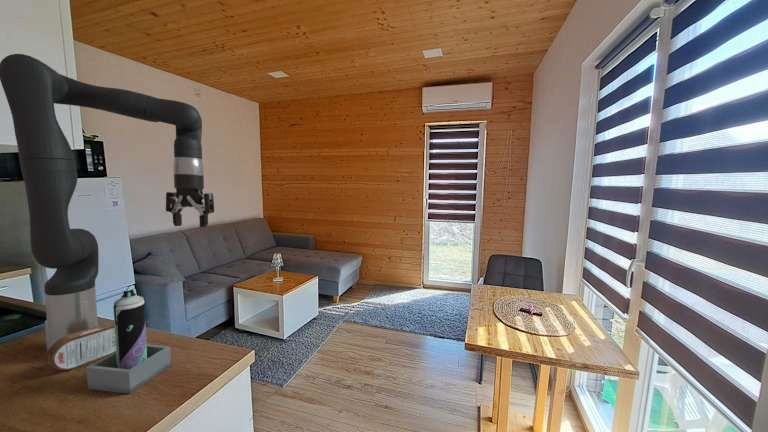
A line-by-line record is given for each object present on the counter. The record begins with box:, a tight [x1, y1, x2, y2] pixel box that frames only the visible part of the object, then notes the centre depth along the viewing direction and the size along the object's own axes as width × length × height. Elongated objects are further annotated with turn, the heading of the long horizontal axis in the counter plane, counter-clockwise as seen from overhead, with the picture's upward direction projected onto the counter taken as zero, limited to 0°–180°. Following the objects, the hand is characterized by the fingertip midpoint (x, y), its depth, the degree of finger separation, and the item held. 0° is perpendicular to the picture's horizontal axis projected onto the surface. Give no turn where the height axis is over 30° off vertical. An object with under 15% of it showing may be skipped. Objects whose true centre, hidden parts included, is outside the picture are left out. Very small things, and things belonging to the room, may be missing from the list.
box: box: [86, 343, 172, 395], centre depth 70 cm, size 11×11×5 cm
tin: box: [45, 322, 116, 371], centre depth 75 cm, size 15×3×8 cm, turn 152°
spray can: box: [113, 289, 147, 370], centre depth 69 cm, size 6×6×20 cm
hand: (190, 226), depth 90 cm, fingers open, 8 cm apart
